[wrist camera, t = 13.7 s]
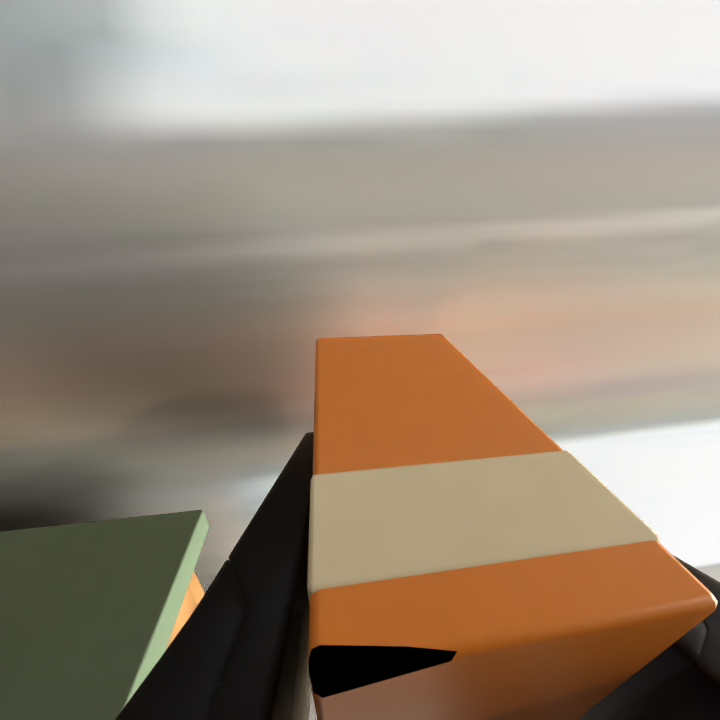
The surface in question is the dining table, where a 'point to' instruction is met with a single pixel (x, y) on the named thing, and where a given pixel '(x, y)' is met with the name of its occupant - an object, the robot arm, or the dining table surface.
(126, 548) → the drawer
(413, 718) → the snack box
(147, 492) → the dining table surface
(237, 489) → the dining table surface
